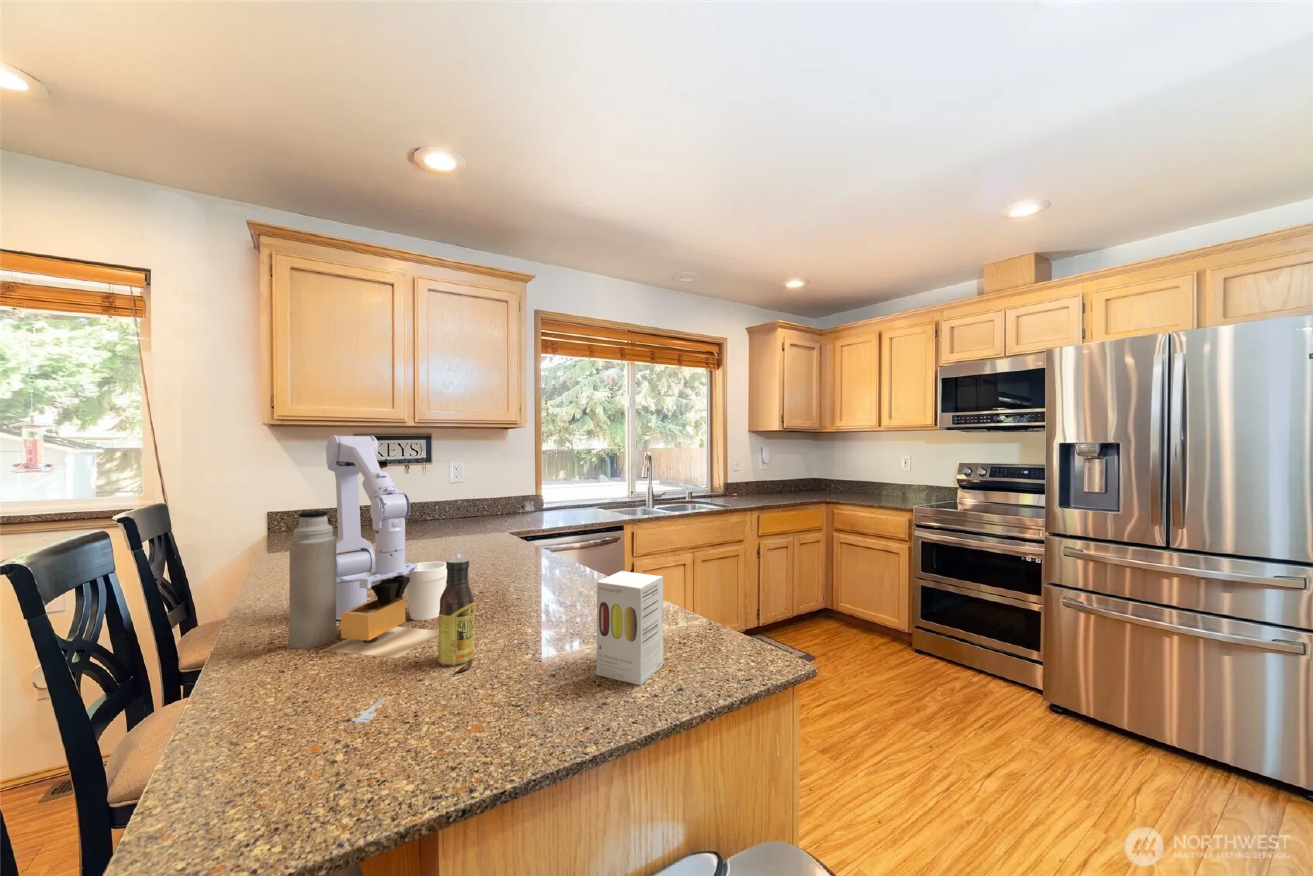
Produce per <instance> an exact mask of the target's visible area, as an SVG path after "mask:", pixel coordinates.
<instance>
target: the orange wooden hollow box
mask: <svg viewBox="0 0 1313 876" xmlns="http://www.w3.org/2000/svg"><path fill="white" fill-rule="evenodd" d="M371 609H375V610H373V611H371V612H369V613H363V612H364V611H366V610H371ZM406 621H407V620H406V598H405V597H402V598H395V599H394V601H393V602H391V603H389V604H387V605H384V606H382V607H380V604H379V601H378V598H377V597H375V598H374V599H370V600H368V601H367V602H366V603H363V604H361V605H359V606H356V607H354V608H351V609H349V610H347V611H344V612H342V613H341V620H340V633H341V635H340V636H341V639H345V640H346V639H357V640H368V641H369V640H371V639H373V638H375V637H377V636H378V635H380V634H382V633H384V632H386V631H388V630H390V629H392V628H394V627H399V625H402V624H403V623H406Z"/></svg>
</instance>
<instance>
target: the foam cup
mask: <svg viewBox="0 0 1313 876" xmlns="http://www.w3.org/2000/svg"><path fill="white" fill-rule="evenodd" d="M417 563H418V571H410V572H411V573H408V574H405V575H404V577H410V582H409V583H408V585H407V586H406V588H405V591H406V596H407V603H408V609H409V616H410V620H414V621H427V620H428V621H429V620H432V619H436V618H439V611H440V598H441V595H442V593H443V591H444V590H445V588H446V587H447V583H446V582H447V568H446V562H443V561H425V562H417Z"/></svg>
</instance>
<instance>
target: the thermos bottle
mask: <svg viewBox="0 0 1313 876" xmlns="http://www.w3.org/2000/svg"><path fill="white" fill-rule="evenodd" d="M328 515H329V512H328V511H327V510H312V511H311V510H309V511H303V512H299V513H298V517H299V520H298V521H299V523H298V527H296V528H294V530H293V534H292V536H293V539H291V540H289V603H288V605H289V610H288V611H289V616H288V617H289V622H288V623H289V628H288V629H289V637H288V638H289V639H288V641H289V644H288V646H289V647H290V648H292V649H308V648H309V649H311V648H315V647H319V646H323V645H326V644H329V643H331V642H333V641H334V640H335V639H336V638H337V620H336V540H337V536H335V535H333V531H334V529H333V526H332V525H330V524H329V522H328V521H329V519H328Z"/></svg>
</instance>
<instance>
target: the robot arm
mask: <svg viewBox="0 0 1313 876" xmlns="http://www.w3.org/2000/svg"><path fill="white" fill-rule="evenodd" d="M325 451H326V453H325V454H326V465H327V470H328V471H331V472H334V477H335V491H336V513H337V514H336V516H337V518H336V519H337V538H336V621H337V620H339V621H341V613H342V612H344V611H347V610H349V609H351V608H354V607H356V606H359V605H361V604H363V603H366V602H368V601H367V600H368V598H367V597H368V596H367V595H368V593H367V592H368V590H369V589H371V590H372V591H373V593H374V594H375V596H376V598H378V601H379V604H380V607H382V606H384V605H387V604H389V603H391V602H393V601H394V599H395V598H403V594H404V593H405V591H406V586H407V585H408V583H409V582H410V577H404V575H405V574H408V573H411V572H410V571H418V563H419V562H408V563H406V519H408V518H409V517H410V513H411V501H410V497H409V495H408V494H407V493H406V492H403V491H402V490H398V488H397V487H396V485H395V483H394V482H393V480H392V477H391V476H390V474H389V473H388V472H385V471H382V470H381V466H380V463H379V462H378V459H377V458H378V457H377V456H378V455H379V442H378V440H377V437H375V436H374V435H335V434H334V435H333V434H331V436H329V438H328V440H327V442H326V447H325ZM359 474H361V475H362V478H363V480H362V488H363V490H364V492H365V494H366V495H367V497H368V500H369V503H370V506H369V507H370V509H369V512H370V516H371V520H372V529H373V530H374V531H375V532H374V535H375V536H374V543H375V545H374V547H373V544H372V543H371V542H370V541H369V540H367V539H366V538H364V537H362V532H361V531H362V530H361V510H360V509H361V507H360V506H361V505H360V487H359ZM357 549H358V550H357ZM374 549H375V550H374ZM350 550H351V551H350ZM374 551H375V552H374Z"/></svg>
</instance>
